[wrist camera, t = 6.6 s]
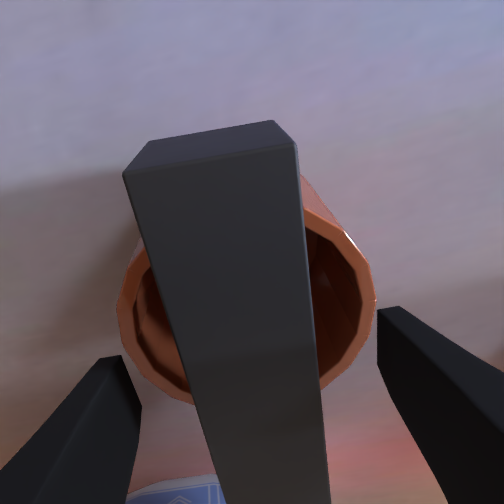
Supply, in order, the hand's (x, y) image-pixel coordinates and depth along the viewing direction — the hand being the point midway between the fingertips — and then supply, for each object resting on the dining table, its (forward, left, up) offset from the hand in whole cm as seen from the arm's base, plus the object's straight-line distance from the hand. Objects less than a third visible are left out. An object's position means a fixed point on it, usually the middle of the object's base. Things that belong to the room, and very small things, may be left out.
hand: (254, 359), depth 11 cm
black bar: (0, 0, -2) cm, 2 cm away
